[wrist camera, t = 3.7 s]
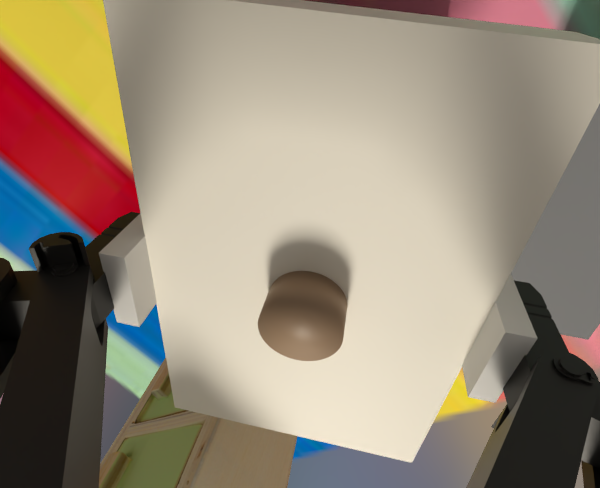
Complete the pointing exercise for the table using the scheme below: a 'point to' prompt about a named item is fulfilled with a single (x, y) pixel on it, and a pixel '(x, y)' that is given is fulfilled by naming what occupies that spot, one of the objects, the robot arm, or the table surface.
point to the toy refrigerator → (192, 448)
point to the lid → (337, 198)
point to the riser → (569, 243)
